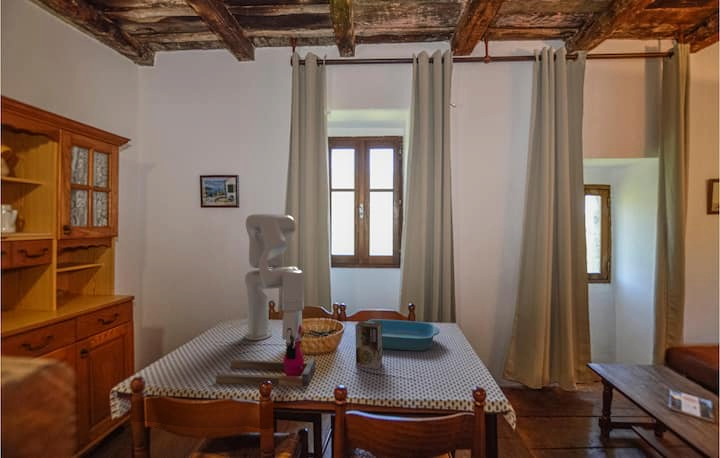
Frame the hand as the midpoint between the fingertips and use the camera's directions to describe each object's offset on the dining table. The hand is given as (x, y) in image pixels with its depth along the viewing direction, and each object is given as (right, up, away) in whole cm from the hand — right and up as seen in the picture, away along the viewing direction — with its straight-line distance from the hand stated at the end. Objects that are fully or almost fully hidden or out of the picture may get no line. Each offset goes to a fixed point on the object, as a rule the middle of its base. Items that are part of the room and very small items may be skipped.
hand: (293, 354), depth 121 cm
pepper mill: (0, -7, 0) cm, 7 cm away
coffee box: (+27, -8, +9) cm, 30 cm away
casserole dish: (+41, -7, +32) cm, 53 cm away
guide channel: (-9, -8, +1) cm, 12 cm away
